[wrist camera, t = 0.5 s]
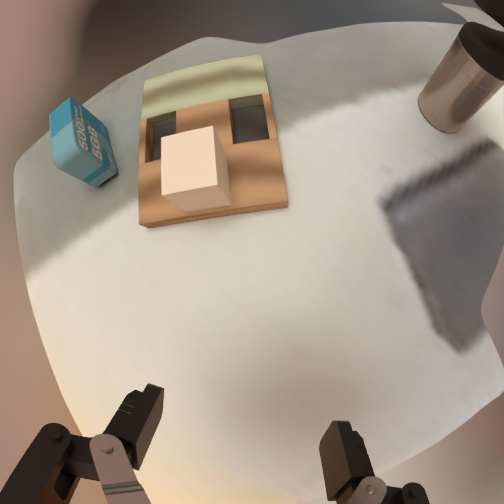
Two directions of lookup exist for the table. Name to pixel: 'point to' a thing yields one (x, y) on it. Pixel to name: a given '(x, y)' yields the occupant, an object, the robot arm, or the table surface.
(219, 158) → the block
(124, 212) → the table surface
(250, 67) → the board
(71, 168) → the data package
